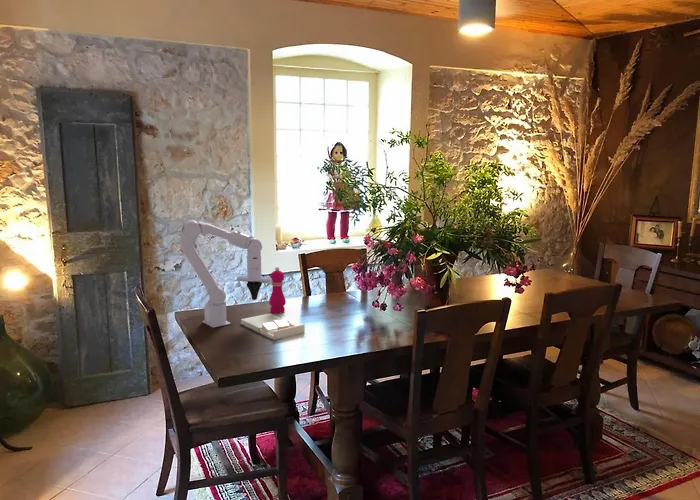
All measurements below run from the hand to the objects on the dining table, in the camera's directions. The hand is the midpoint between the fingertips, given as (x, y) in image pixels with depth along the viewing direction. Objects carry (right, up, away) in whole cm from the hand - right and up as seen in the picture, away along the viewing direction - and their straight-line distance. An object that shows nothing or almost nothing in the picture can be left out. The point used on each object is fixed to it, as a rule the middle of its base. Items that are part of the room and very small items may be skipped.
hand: (254, 299), depth 232 cm
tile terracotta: (+12, -10, -9) cm, 19 cm away
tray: (+13, -12, -13) cm, 22 cm away
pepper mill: (+7, -7, +16) cm, 19 cm away
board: (+5, -10, -3) cm, 12 cm away
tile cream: (+8, -11, -13) cm, 19 cm away
